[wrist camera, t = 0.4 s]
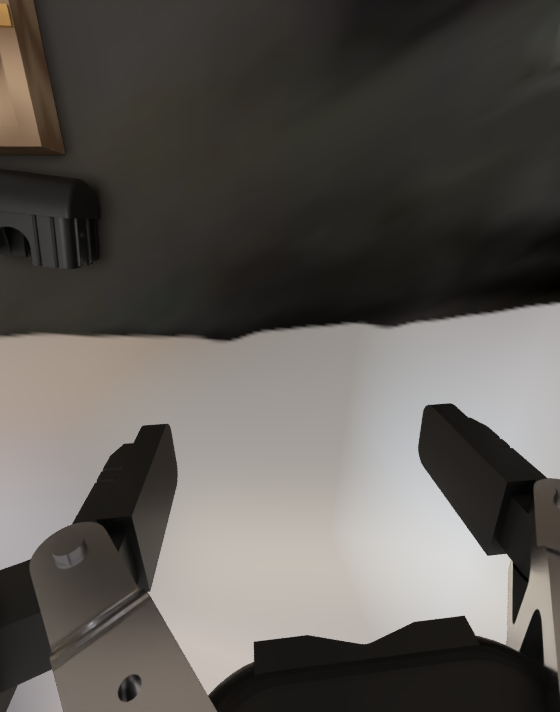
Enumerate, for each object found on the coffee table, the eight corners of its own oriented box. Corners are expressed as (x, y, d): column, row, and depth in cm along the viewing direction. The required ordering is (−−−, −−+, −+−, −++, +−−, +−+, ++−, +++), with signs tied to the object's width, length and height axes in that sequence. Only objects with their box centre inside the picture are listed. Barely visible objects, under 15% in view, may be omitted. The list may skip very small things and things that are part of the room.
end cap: (100, 183, 33) (66, 175, 26) (105, 261, 35) (74, 270, 29) (-18, 169, 31) (-83, 156, 25) (-4, 251, 34) (-61, 258, 28)
